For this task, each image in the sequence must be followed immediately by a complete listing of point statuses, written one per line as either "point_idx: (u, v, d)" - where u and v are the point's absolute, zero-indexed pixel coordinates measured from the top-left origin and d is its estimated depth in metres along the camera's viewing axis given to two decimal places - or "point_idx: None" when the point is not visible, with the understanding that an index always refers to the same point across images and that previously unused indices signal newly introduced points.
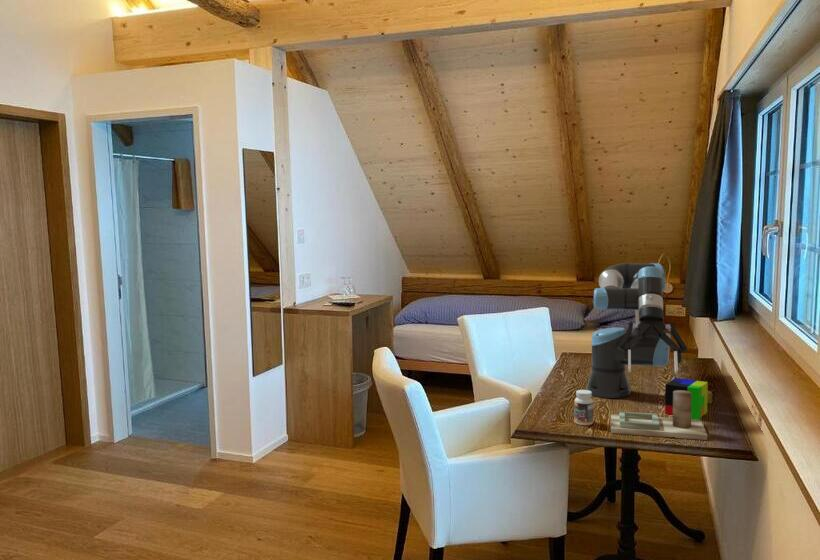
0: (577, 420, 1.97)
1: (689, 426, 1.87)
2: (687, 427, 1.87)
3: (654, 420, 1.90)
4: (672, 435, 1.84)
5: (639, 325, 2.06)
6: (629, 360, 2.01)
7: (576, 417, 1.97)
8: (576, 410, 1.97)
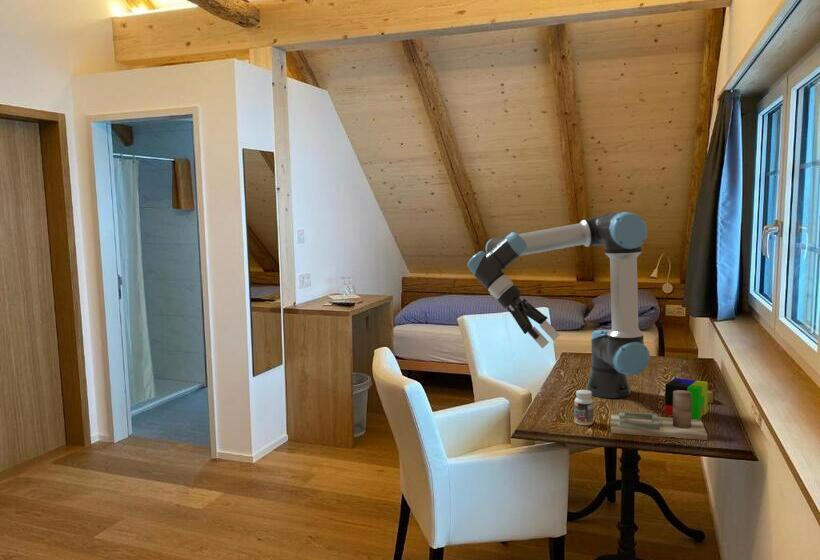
0: (577, 420, 1.97)
1: (689, 426, 1.87)
2: (687, 427, 1.87)
3: (654, 420, 1.90)
4: (672, 435, 1.84)
5: None
6: None
7: (576, 417, 1.97)
8: (576, 410, 1.97)
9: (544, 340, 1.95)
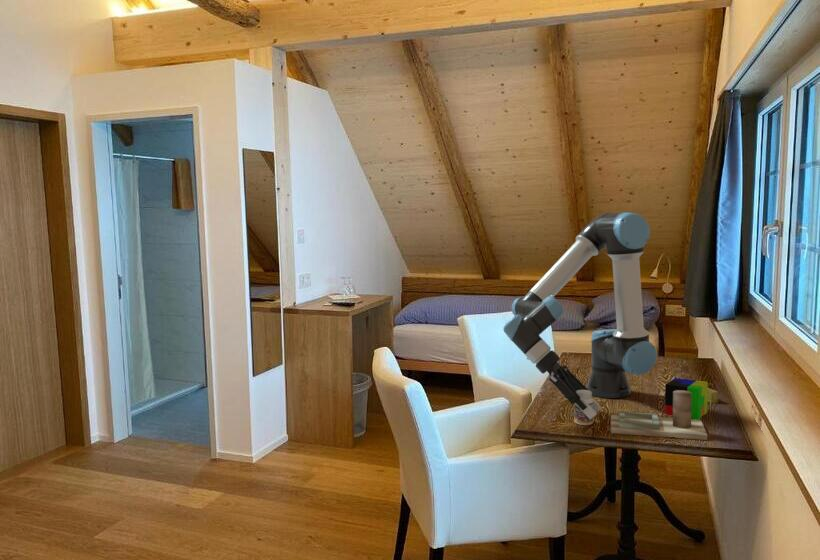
0: (577, 420, 1.97)
1: (689, 426, 1.87)
2: (687, 427, 1.87)
3: (654, 420, 1.90)
4: (672, 435, 1.84)
5: None
6: None
7: (576, 417, 1.97)
8: (576, 410, 1.97)
9: (592, 411, 1.94)
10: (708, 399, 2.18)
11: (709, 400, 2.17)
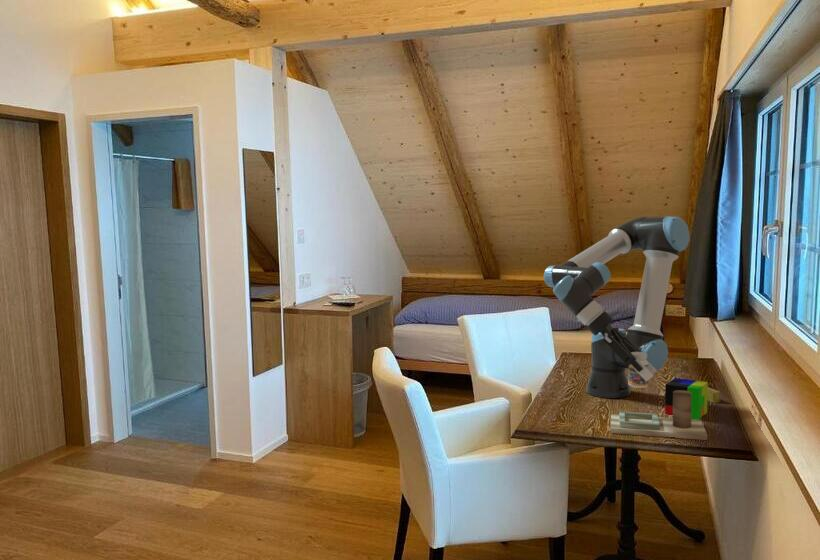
0: (632, 382, 1.90)
1: (689, 426, 1.87)
2: (687, 427, 1.87)
3: (654, 420, 1.90)
4: (672, 435, 1.84)
5: None
6: None
7: (631, 379, 1.91)
8: (631, 372, 1.90)
9: (648, 373, 1.87)
10: (710, 399, 2.18)
11: (711, 400, 2.17)
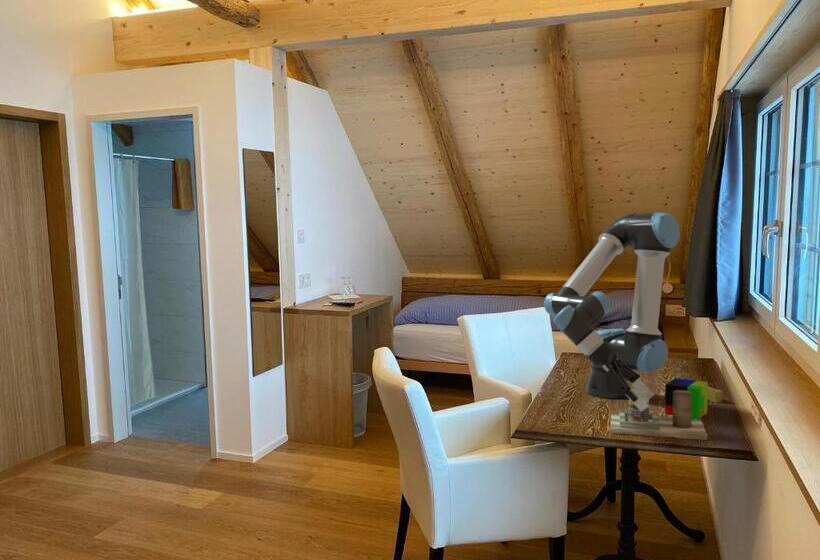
0: (632, 419, 1.91)
1: (689, 426, 1.87)
2: (687, 427, 1.87)
3: (654, 420, 1.90)
4: (672, 435, 1.84)
5: None
6: None
7: (631, 416, 1.92)
8: (631, 409, 1.91)
9: (643, 403, 1.85)
10: (712, 399, 2.18)
11: (714, 400, 2.18)
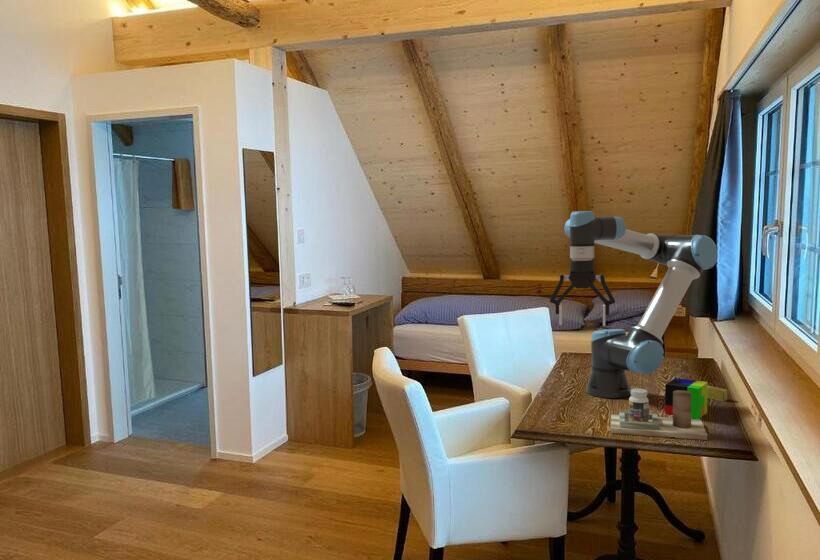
0: (632, 420, 1.91)
1: (689, 426, 1.87)
2: (687, 427, 1.87)
3: (654, 420, 1.90)
4: (672, 435, 1.84)
5: (570, 278, 2.06)
6: (560, 316, 2.08)
7: (631, 416, 1.92)
8: (631, 409, 1.92)
9: None
10: (718, 398, 2.19)
11: (720, 399, 2.18)
